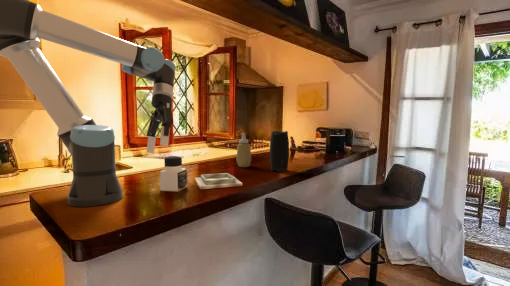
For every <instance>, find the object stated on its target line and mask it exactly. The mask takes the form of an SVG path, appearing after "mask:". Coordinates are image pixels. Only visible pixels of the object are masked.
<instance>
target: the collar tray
mask: <svg viewBox="0 0 510 286" xmlns="http://www.w3.org/2000/svg"><path fill="white" fill-rule="evenodd" d="M194 181H195V183H196V185H197V186H198V189H200V190H208V189H219V188H220V189H222V188H230V187H231V188H232V187H242V186H243V182H241V181H240V180H239V179H237V178H236V177H235V176H234V175H232V174H230V173H228V172H224V173H223V172H221V173H207V174H206V173H205V174H200V177H194Z"/></svg>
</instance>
